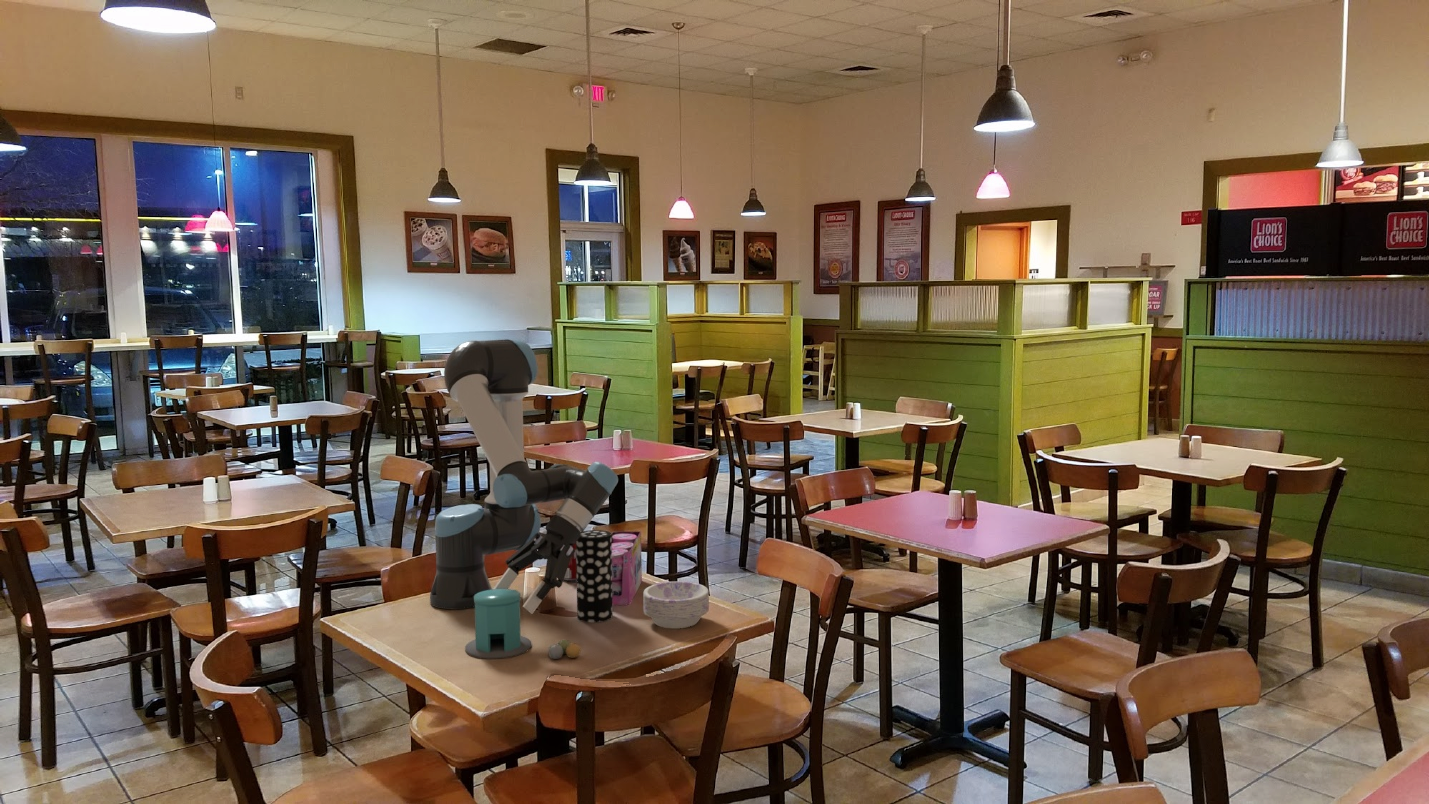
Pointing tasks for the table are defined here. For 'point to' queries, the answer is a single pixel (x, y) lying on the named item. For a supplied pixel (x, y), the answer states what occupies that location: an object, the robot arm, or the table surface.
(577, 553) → the spotted tube
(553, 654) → the grey marble
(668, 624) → the paper bowls
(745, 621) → the table surface
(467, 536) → the robot arm
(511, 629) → the teal piece
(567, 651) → the amber marble
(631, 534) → the gum box
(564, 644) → the olive marble
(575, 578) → the soda can
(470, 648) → the coaster
